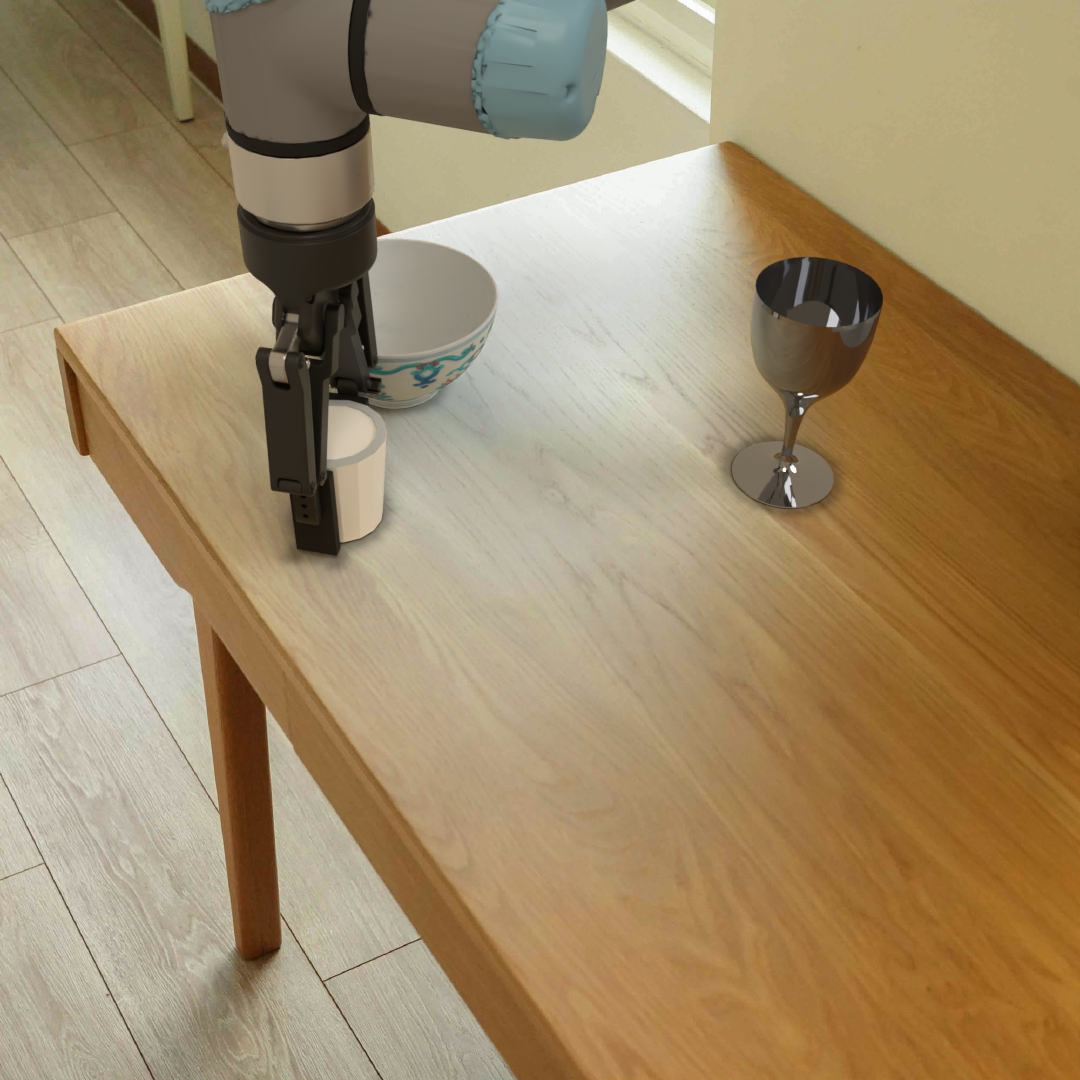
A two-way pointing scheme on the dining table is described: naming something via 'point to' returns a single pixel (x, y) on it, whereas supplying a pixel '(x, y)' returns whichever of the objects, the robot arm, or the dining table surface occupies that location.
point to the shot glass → (356, 466)
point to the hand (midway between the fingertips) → (336, 509)
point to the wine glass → (804, 366)
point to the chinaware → (426, 318)
